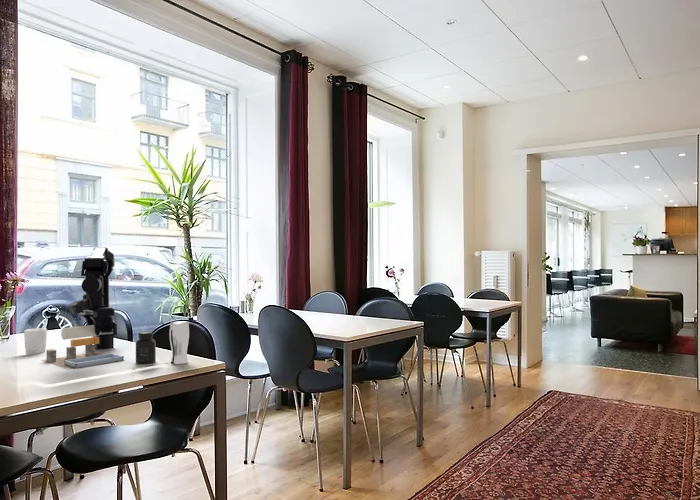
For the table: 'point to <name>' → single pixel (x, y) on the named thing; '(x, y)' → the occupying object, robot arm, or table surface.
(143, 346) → the supplement bottle
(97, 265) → the robot arm
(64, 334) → the off-white cylinder
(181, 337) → the beer glass
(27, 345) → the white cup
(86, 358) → the tray
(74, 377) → the table surface
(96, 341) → the tie bar
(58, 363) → the board
